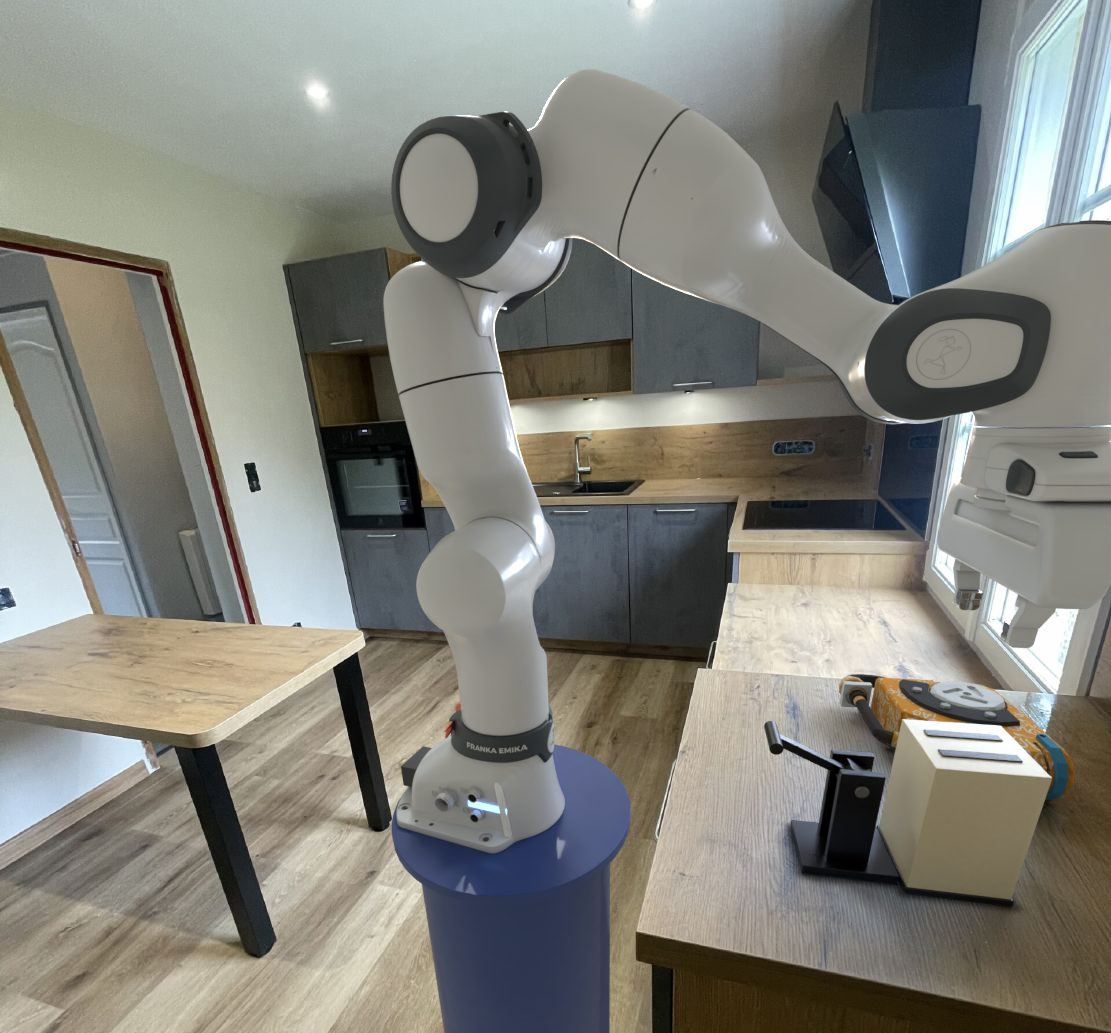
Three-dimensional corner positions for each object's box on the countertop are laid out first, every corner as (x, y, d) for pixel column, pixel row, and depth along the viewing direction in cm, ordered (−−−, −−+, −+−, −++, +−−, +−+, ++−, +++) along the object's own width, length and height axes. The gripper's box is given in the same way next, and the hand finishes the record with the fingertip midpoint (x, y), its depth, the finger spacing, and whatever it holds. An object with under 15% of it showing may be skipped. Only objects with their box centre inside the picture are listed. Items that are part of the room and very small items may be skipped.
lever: (764, 754, 63) (776, 738, 62) (759, 731, 68) (770, 715, 67) (866, 803, 63) (879, 787, 62) (853, 776, 67) (866, 761, 66)
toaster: (904, 893, 63) (935, 768, 57) (875, 830, 72) (899, 716, 67) (1012, 907, 61) (1056, 778, 55) (968, 839, 70) (1002, 723, 64)
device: (892, 746, 75) (835, 655, 102) (881, 799, 78) (828, 696, 105) (1094, 760, 71) (979, 661, 98) (1074, 815, 74) (967, 704, 101)
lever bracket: (801, 873, 66) (816, 779, 61) (790, 827, 73) (802, 740, 69) (897, 885, 64) (920, 789, 59) (875, 836, 71) (894, 747, 67)
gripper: (935, 454, 57) (908, 590, 62) (1057, 479, 38) (1004, 669, 43) (1008, 453, 55) (974, 591, 61) (1171, 478, 37) (1102, 674, 42)
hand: (988, 624), depth 52 cm, fingers open, 8 cm apart
